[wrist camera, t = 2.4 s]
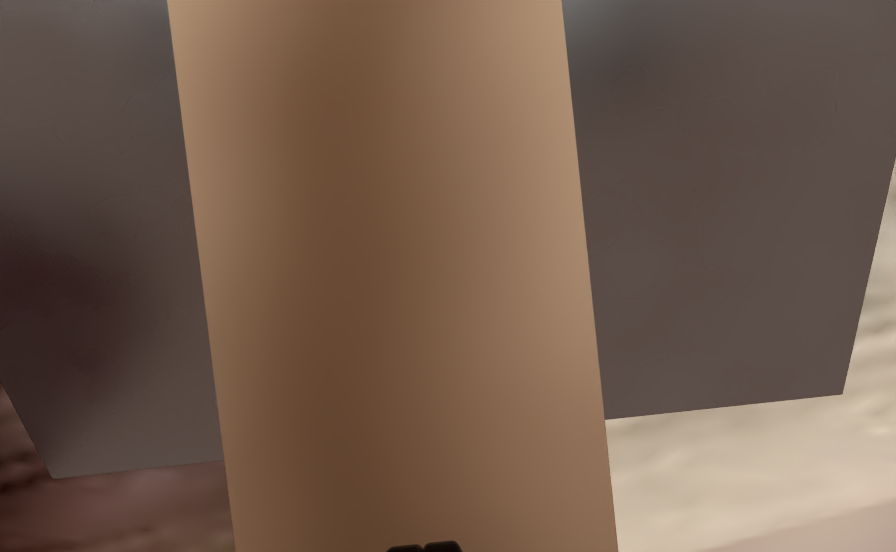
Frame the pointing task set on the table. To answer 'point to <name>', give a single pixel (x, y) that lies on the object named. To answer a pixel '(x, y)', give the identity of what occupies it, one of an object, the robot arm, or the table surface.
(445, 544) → the robot arm
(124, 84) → the mounting plate
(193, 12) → the lever
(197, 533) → the table surface
